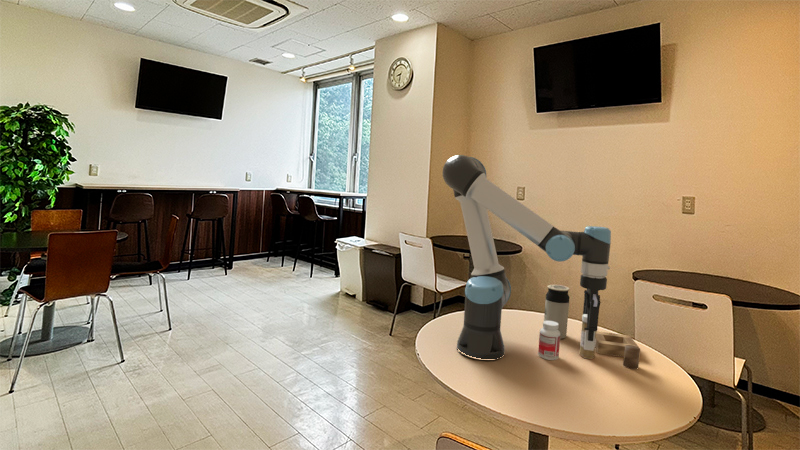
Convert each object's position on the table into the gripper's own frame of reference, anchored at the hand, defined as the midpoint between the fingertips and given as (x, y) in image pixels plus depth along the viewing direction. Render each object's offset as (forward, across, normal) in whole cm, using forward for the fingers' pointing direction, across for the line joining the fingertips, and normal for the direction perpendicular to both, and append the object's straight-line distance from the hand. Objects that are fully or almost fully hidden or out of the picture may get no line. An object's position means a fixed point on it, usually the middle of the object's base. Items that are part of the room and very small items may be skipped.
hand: (587, 346), depth 129 cm
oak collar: (+3, +10, -10) cm, 14 cm away
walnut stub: (+3, -3, -12) cm, 13 cm away
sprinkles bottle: (+3, 0, 0) cm, 3 cm away
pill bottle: (+3, -5, +12) cm, 13 cm away
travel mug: (+3, +16, +8) cm, 18 cm away
